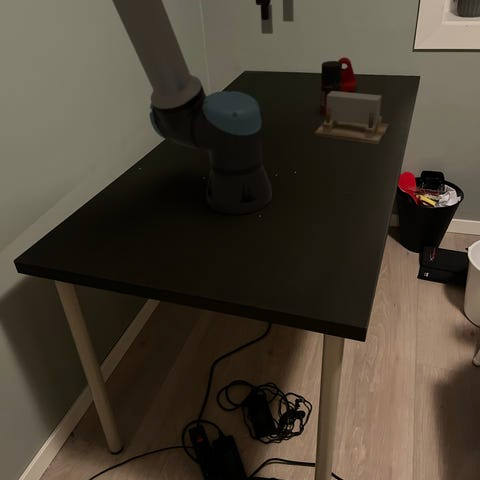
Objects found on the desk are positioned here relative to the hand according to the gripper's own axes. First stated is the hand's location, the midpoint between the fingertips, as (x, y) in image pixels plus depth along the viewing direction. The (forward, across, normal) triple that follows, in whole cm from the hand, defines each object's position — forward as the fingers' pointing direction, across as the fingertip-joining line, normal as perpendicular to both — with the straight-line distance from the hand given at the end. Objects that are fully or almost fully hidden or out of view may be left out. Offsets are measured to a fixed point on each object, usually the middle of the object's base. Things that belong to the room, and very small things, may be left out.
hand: (278, 27), depth 124 cm
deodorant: (+29, +18, -9) cm, 35 cm away
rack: (+29, +6, -20) cm, 35 cm away
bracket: (+29, +40, -6) cm, 50 cm away
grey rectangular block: (+25, +6, -20) cm, 32 cm away
